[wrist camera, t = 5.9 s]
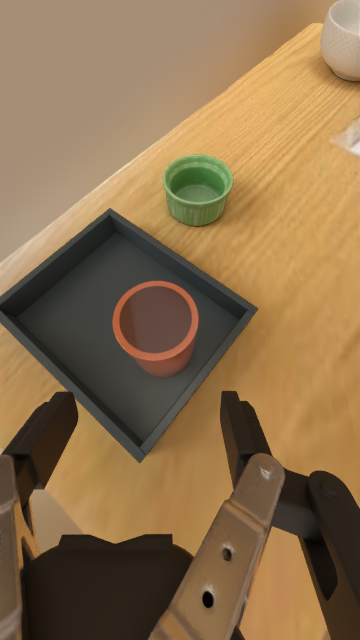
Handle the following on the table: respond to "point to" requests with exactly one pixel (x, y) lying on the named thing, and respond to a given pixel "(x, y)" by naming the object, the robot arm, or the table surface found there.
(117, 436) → the tray
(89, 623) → the robot arm
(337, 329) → the table surface
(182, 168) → the ramekin
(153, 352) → the cup
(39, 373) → the table surface
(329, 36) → the cereal bowl
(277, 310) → the table surface
